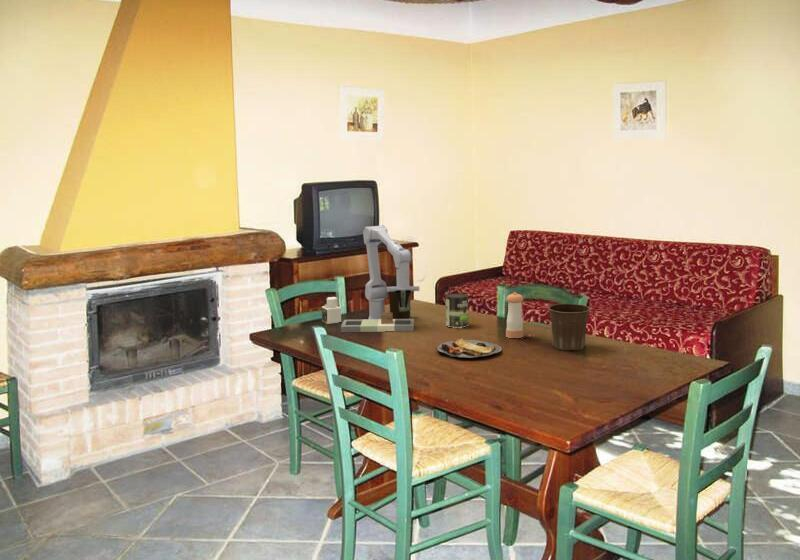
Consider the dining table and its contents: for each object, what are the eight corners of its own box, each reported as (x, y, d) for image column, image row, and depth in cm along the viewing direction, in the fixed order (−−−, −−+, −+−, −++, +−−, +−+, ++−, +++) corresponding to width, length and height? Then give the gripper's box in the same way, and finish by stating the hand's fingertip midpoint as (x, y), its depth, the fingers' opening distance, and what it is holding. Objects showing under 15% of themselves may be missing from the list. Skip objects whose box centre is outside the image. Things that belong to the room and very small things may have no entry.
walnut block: (381, 321, 340) (381, 312, 340) (392, 321, 340) (392, 312, 339) (381, 323, 335) (381, 315, 335) (392, 323, 335) (392, 314, 335)
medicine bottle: (322, 321, 354) (321, 296, 352) (336, 319, 357) (335, 294, 355) (327, 324, 348) (326, 298, 346) (341, 322, 351) (340, 297, 349)
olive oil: (384, 318, 358) (383, 266, 354) (402, 315, 364) (401, 264, 360) (397, 322, 350) (396, 268, 345) (415, 318, 356) (415, 266, 351)
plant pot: (583, 354, 288) (583, 313, 285) (542, 350, 296) (542, 309, 293) (594, 344, 302) (595, 305, 299) (554, 340, 310) (555, 302, 307)
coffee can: (473, 326, 339) (473, 295, 336) (456, 329, 332) (456, 298, 330) (457, 322, 346) (457, 292, 344) (440, 326, 340) (440, 295, 338)
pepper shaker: (525, 336, 318) (526, 291, 315) (519, 339, 312) (519, 294, 309) (509, 334, 322) (510, 290, 319) (503, 338, 316) (503, 293, 313)
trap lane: (344, 325, 346) (344, 319, 345) (413, 324, 345) (413, 318, 344) (341, 332, 332) (341, 326, 331) (413, 331, 331) (413, 325, 331)
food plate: (424, 352, 296) (424, 343, 295) (463, 341, 312) (463, 333, 311) (473, 365, 278) (473, 356, 278) (512, 353, 294) (512, 345, 294)
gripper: (386, 278, 330) (386, 309, 333) (419, 278, 330) (419, 308, 332) (386, 276, 337) (387, 306, 340) (419, 275, 337) (419, 305, 339)
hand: (403, 307), depth 336 cm, fingers closed
